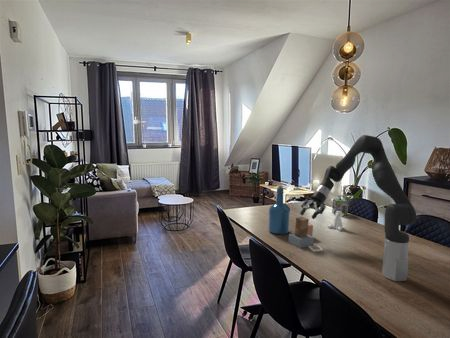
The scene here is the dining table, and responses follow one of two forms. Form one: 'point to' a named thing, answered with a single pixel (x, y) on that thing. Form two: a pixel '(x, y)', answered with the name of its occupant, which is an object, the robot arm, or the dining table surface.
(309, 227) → the terracotta block
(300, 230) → the walnut block
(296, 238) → the plinth
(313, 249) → the tile
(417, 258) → the dining table surface
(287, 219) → the wine bottle
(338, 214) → the white creature statuette
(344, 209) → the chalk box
